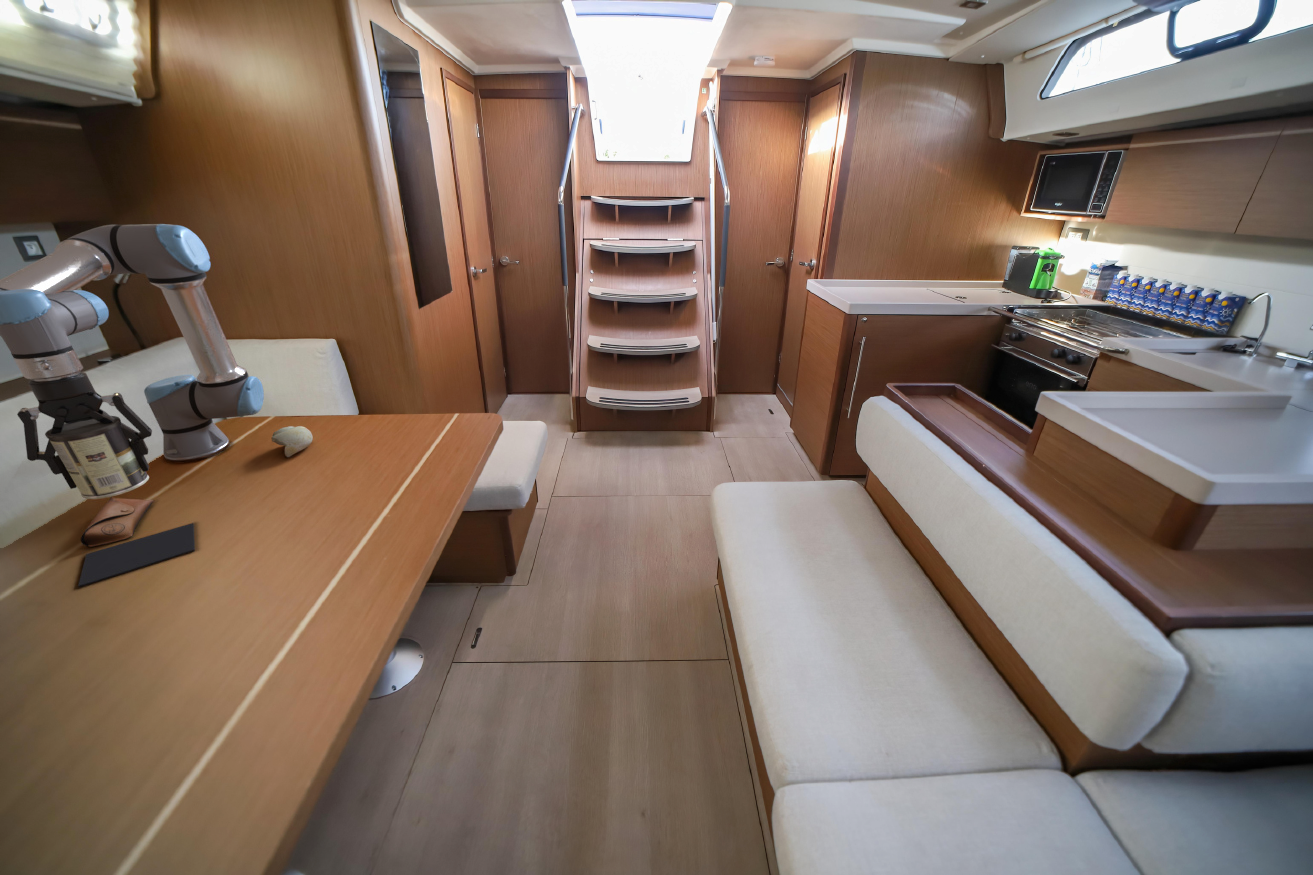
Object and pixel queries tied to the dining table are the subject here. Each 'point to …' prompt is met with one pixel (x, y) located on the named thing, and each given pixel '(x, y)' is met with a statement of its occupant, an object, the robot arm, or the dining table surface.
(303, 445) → the seashell
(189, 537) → the place mat
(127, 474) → the coffee can
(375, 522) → the dining table surface
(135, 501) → the sunglasses case
